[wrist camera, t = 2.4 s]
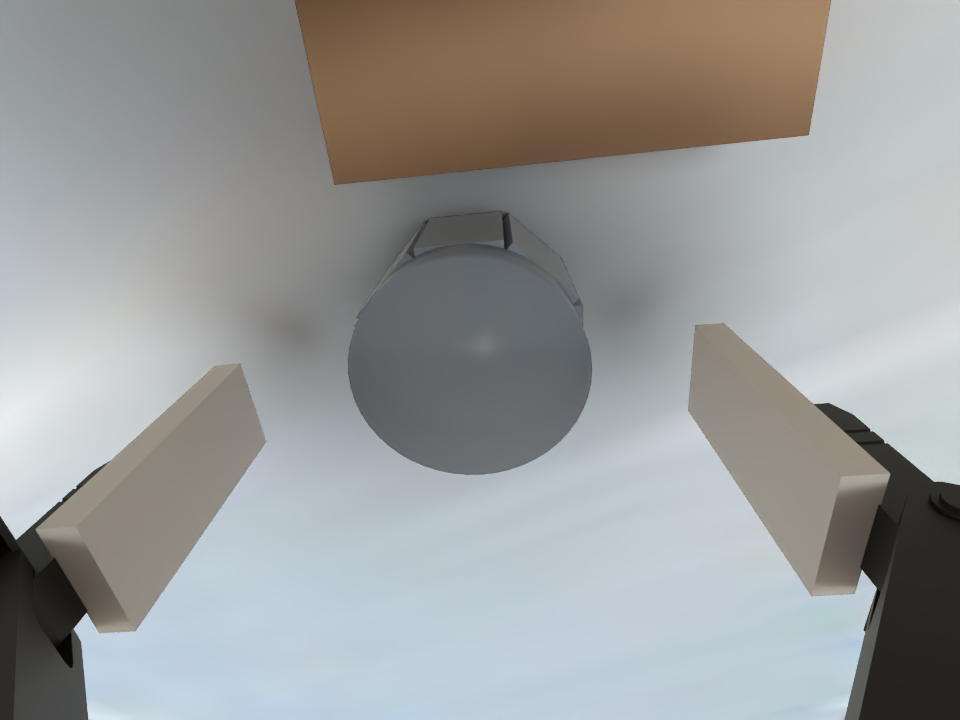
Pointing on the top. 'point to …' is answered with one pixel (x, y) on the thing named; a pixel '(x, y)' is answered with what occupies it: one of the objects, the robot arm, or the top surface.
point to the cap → (472, 348)
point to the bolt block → (553, 79)
